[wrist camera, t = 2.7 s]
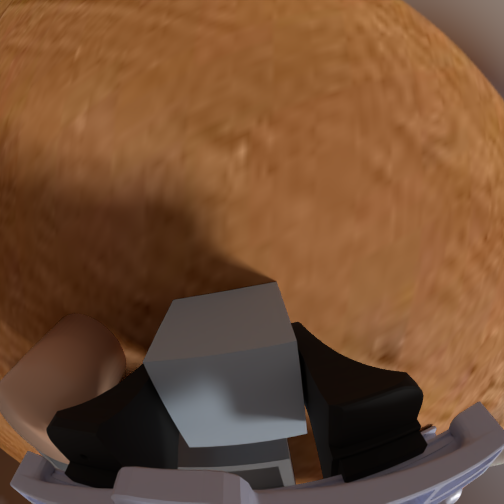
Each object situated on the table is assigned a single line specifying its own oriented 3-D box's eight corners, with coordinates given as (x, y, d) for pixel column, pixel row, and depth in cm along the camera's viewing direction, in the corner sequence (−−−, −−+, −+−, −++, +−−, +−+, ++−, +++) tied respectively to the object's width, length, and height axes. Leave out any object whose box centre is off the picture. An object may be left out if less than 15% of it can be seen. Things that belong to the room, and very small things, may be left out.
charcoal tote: (277, 390, 15) (289, 458, 10) (295, 480, 18) (302, 522, 13) (53, 397, 15) (26, 438, 10) (126, 481, 18) (116, 517, 13)
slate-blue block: (276, 281, 13) (296, 340, 8) (289, 364, 14) (307, 433, 9) (173, 299, 13) (142, 362, 8) (200, 377, 14) (189, 447, 9)
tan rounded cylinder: (106, 309, 13) (35, 393, 6) (138, 381, 14) (101, 473, 7) (45, 316, 13) (-22, 380, 6) (78, 381, 14) (34, 452, 7)
